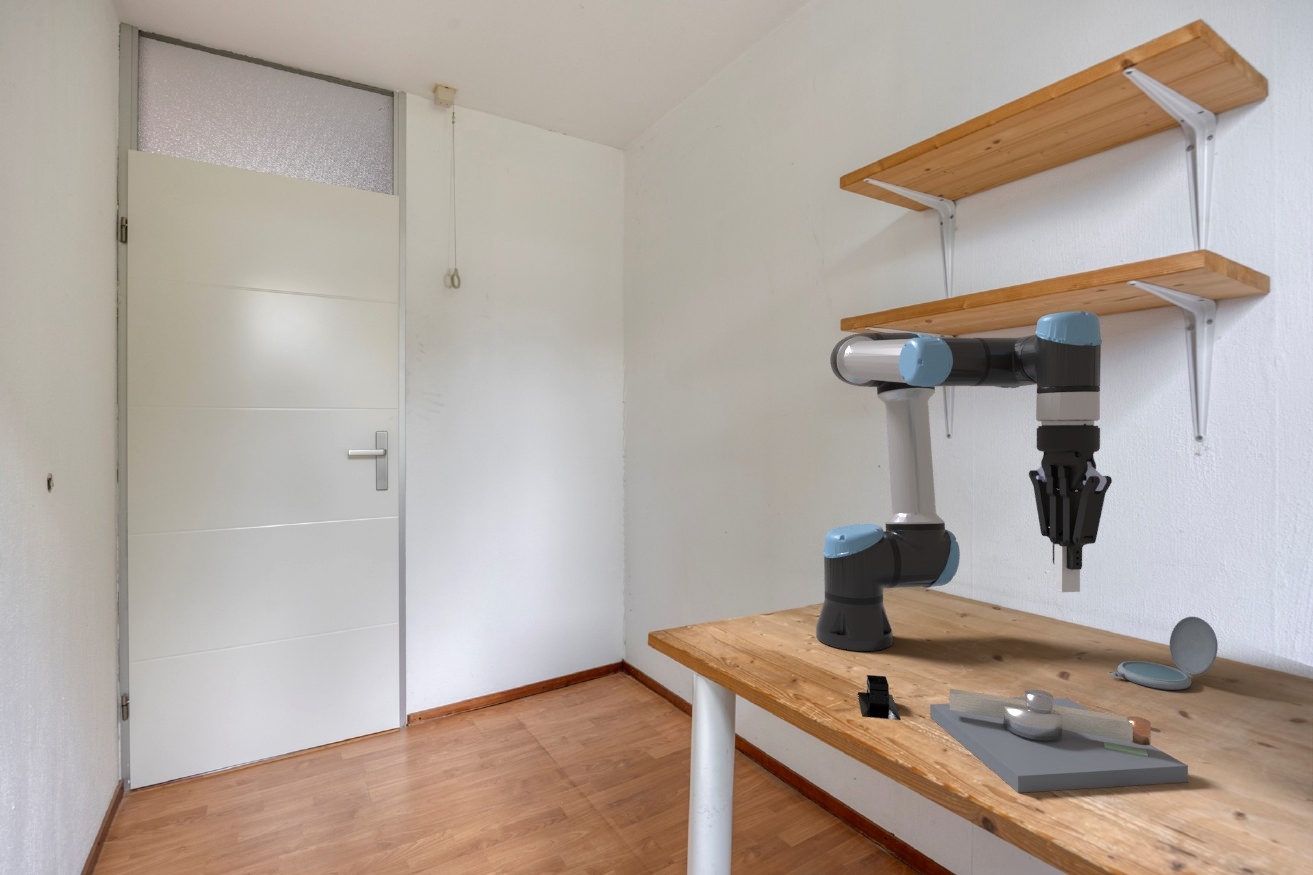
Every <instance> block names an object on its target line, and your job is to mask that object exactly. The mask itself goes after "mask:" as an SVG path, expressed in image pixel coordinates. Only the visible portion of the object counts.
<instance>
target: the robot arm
mask: <svg viewBox="0 0 1313 875" xmlns="http://www.w3.org/2000/svg"><path fill="white" fill-rule="evenodd" d="M1036 322H1037V324H1036V330H1035V334H1033V335H1027V336H1021V337H952V336H951V337H949V336H947V337H941V336H940V337H938V336H932V335H930V334H927V333H918V332H913V331H909V332H859V333H853V334H850V335H848V336H846V337H844V338H842V339H841V340H839V341H838V342H837V343H836V344H835V345H834V347H833V348H832V351H831V353H830V358H829V360H830V368H831V370H832V372H833V374H834V376H836V378H837V379H838V380H840V381H842V382H843V383H845V384H847V385H851V386H855V387H863V388H864V387H868V388H876V393H877V394H876V395H877V398H878V399H879V400H880V401H882V402H883V404H884V405H885V419H886V421H885V422H886V434H887V438H886V439H887V450H888V452H887V453H888V467H889V468H888V469H889V482H890V483H889V484H890V495H891V496H890V497H891V498H890V499H891V510H892V511H891V512H892V513H891V516H890V517H889V518H888V519H887V520H886V521H884V522H885V531H884V529H883V527H882V526H881V525H878V524H873V523H862V524H861V523H857V524H848V525H843V526H837V527H834V528H832V529H831V530H829V531H827V533H826V534H825V537H824V547H823V552H822V553H823V559H824V560H823V563H824V569H823V570H824V571H823V572H824V576H823V577H824V581H823V582H824V601H823V604H822V608H821V610H820V613H819V616H818V619H817V623H816V626H815V632H816V633H815V634H816V635H815V637H816V639H817V640H818V641H819V642H821V643H823V644H825V645H827V646H829V645H830V647H832V648H835V649H837V648H838V649H840V650H841V649H842V650H846V649H847V650H848V651H855V652H857V651H858V652H871V651H872V652H873V651H881V650H884V649H887V648H889V647H891V646H892V645H893V641H894V640H893V634H894V633H893V630H892V625H891V623H890V620H889V617H888V615H887V612H886V608H885V604H884V589H899V588H901V589H902V588H903V589H904V588H905V589H906V588H924V589H929V588H931V587H942V586H945V585H947V584H949V583H950V582H951V581H952V580H953V577H955V576H956V575H957V571H958V570H959V565H960V559H961V557H960V556H961V554H960V545H959V543H958V541H957V538H956V536H955V534H954V533H953V532H952V531H950V530H948V529H946V524H945V523H946V522H945V520H944V519H942V518H941V517H940V516H939V515H938V514H937V508H936V497H935V495H936V494H935V482H934V481H935V480H934V468H933V467H934V466H933V465H934V464H933V451H932V440H931V439H932V438H931V423H930V411H929V410H930V409H929V400H930V399H931V398H932V397H933V395H934V394H935V393H936V389H935V388H936V387H996V388H1003V389H1008V388H1011V389H1016V388H1020V387H1024V386H1025V387H1026V386H1032V385H1033V386H1034V385H1036V400H1035V402H1036V403H1035V404H1036V406H1035V407H1036V410H1035V411H1036V412H1035V413H1036V415H1035V420H1036V421H1037V422H1040V423H1041V425H1038V426H1037V427H1036V449H1037V450H1038V451H1039V452H1043V455H1042V458H1041V462H1040V467H1038V469H1034V470H1033V469H1032V470H1029V472H1028V477H1029V479H1030V481H1031V484H1032V486H1033V491H1034V498H1035V503H1036V509H1037V510H1036V511H1037V515H1038V522H1039V528H1040V530H1039V531H1040V534H1041V536H1042V537H1047V538H1049V541H1050V543H1052V563H1053V566H1054V568H1053V570H1054V571H1053V572H1054V574H1053V575H1054V576H1053V577H1054V587H1053V588H1054V590H1055V591H1057V592H1060V593H1076V592H1077V593H1080V592H1081V570H1082V568H1083V547H1084V546H1086V545H1090V544H1091V545H1093V544H1095V543H1096V541H1097V537H1098V531H1099V528H1100V527H1099V526H1100V522H1101V517H1102V513H1103V512H1102V511H1103V508H1104V502H1105V498H1106V493H1107V492H1108V490H1109V488H1110V486H1111V484H1112V481H1113V480H1112V477H1111V476H1110V475H1102V474H1101V473H1100V472H1099V470H1097V463H1096V461H1095V458H1094V454H1095V453H1097V452H1099V451H1100V450H1101V427H1099V425H1095V422H1098V421H1099V420H1100V419H1101V416H1100V415H1101V360H1102V358H1101V353H1102V352H1101V351H1102V350H1101V349H1102V344H1103V341H1102V339H1101V338H1102V337H1101V335H1102V334H1101V325H1100V324H1101V323H1100V318H1099V316H1098V315H1097V314H1096V313H1094V312H1091V311H1080V310H1079V311H1078V310H1077V311H1062V312H1056V313H1050V314H1046V315H1045V314H1044V315H1043V316H1041V317H1040V318H1039V319H1038V320H1037V321H1036Z"/></svg>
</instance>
